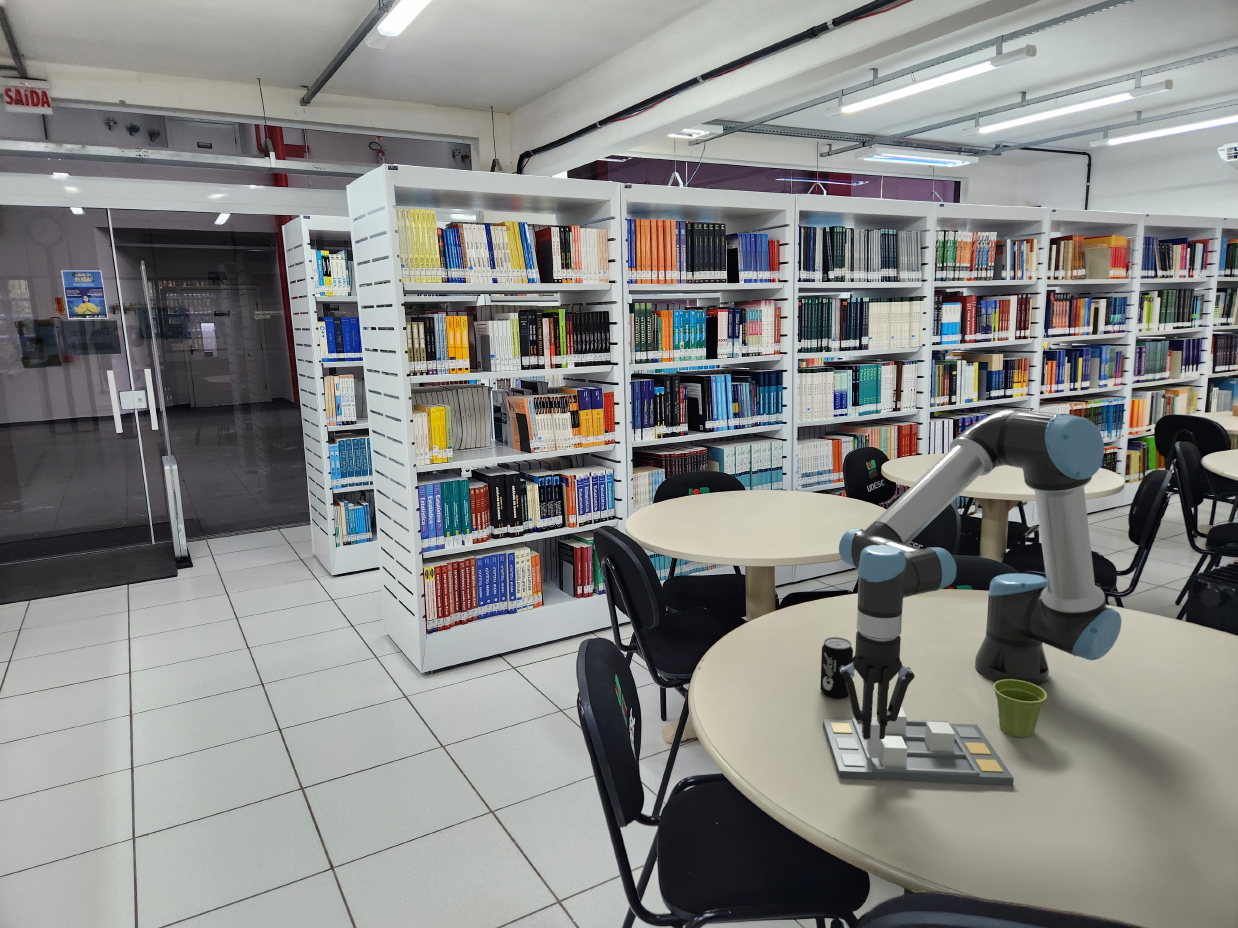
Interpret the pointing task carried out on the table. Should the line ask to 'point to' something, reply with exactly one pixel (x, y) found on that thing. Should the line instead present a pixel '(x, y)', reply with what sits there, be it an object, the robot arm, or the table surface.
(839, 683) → the beverage can
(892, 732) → the white cube
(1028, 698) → the plant pot
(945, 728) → the white cube
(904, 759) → the white cube
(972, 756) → the switch bank
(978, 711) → the table surface
